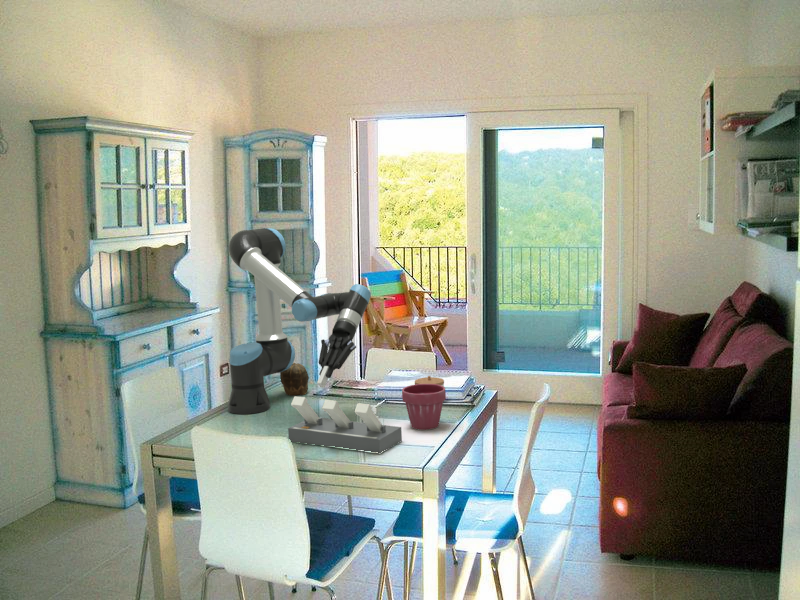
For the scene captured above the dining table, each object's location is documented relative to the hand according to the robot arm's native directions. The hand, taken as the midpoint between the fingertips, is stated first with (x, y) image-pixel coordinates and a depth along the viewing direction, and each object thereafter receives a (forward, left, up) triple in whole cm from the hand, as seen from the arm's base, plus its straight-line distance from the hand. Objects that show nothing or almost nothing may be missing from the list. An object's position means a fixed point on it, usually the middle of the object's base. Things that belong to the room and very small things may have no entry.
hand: (320, 385), depth 279 cm
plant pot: (+33, +3, -16) cm, 37 cm away
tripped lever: (-3, -4, -10) cm, 11 cm away
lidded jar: (+37, +35, -16) cm, 54 cm away
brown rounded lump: (-14, +55, -16) cm, 59 cm away
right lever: (+17, -16, -10) cm, 26 cm away
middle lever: (+7, -10, -10) cm, 16 cm away
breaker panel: (+7, -10, -16) cm, 20 cm away
